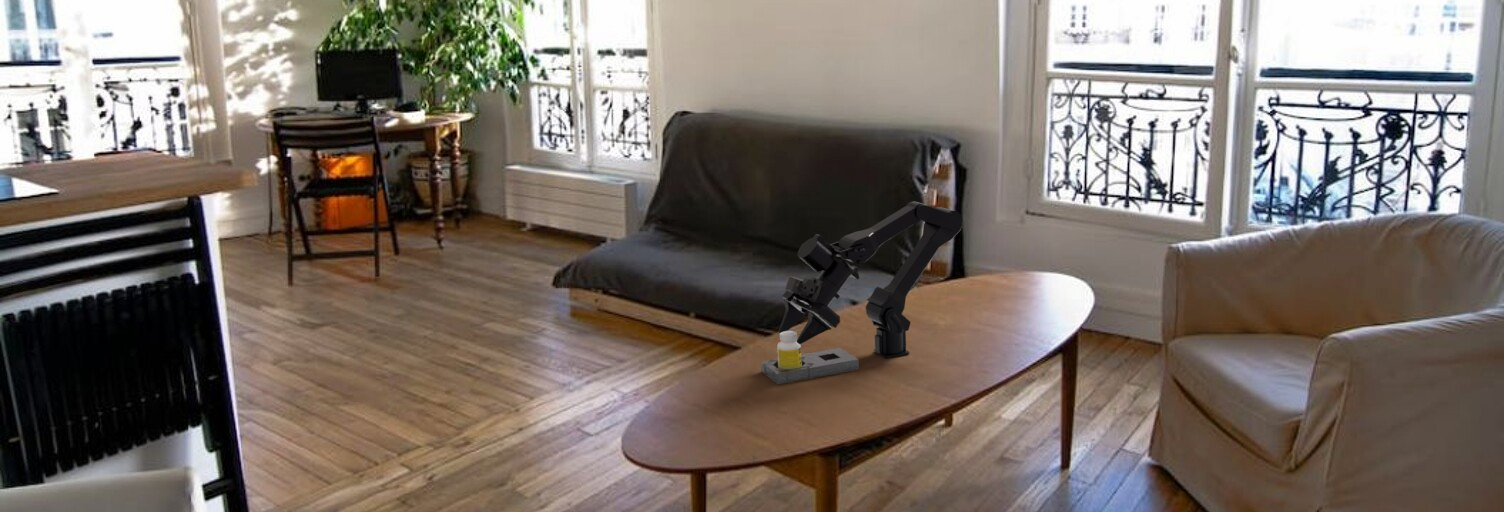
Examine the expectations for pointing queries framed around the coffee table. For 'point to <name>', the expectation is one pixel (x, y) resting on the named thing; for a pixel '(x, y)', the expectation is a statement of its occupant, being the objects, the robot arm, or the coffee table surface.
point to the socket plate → (812, 366)
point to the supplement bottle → (789, 351)
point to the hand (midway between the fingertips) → (789, 338)
